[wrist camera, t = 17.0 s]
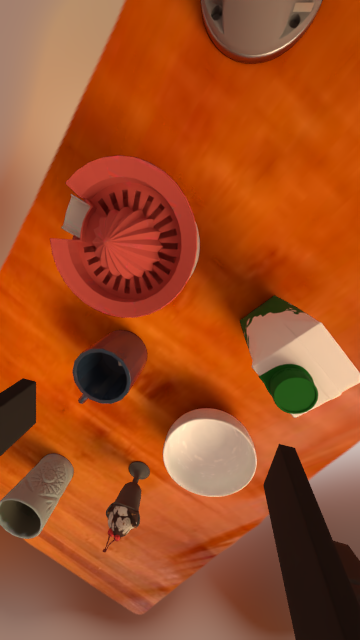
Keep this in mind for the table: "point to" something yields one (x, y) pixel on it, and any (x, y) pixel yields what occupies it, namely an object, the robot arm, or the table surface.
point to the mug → (110, 367)
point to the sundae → (127, 504)
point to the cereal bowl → (209, 453)
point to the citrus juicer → (126, 237)
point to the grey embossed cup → (35, 497)
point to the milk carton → (296, 357)
